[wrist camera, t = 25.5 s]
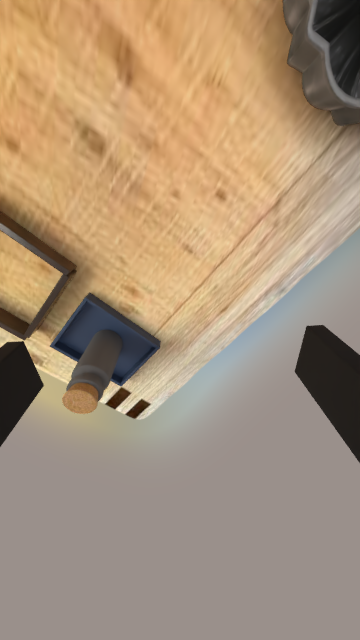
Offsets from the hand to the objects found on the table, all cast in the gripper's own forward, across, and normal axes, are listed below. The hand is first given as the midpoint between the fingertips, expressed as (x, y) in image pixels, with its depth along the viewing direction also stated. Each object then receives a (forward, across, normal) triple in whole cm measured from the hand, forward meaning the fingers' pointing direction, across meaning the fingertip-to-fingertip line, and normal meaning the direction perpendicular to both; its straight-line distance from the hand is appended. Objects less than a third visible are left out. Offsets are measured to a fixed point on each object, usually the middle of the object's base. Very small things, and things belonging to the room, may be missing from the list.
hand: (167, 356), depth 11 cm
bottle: (+28, -14, -17) cm, 36 cm away
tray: (+29, -14, -17) cm, 36 cm away
